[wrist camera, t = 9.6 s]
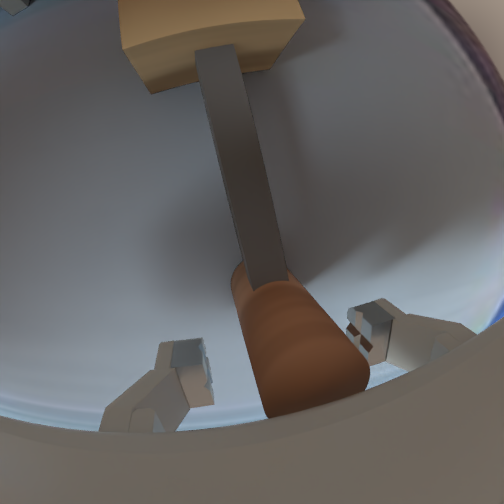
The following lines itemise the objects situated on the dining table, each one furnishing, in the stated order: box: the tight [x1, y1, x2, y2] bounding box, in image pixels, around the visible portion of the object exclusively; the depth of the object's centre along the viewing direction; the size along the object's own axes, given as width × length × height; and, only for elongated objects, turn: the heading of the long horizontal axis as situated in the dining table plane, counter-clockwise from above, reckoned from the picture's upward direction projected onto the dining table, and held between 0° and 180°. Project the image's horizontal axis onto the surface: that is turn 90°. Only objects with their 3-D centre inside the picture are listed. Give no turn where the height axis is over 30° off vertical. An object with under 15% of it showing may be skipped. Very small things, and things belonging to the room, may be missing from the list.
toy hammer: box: [118, 0, 370, 418], centre depth 7 cm, size 15×5×7 cm, turn 13°
